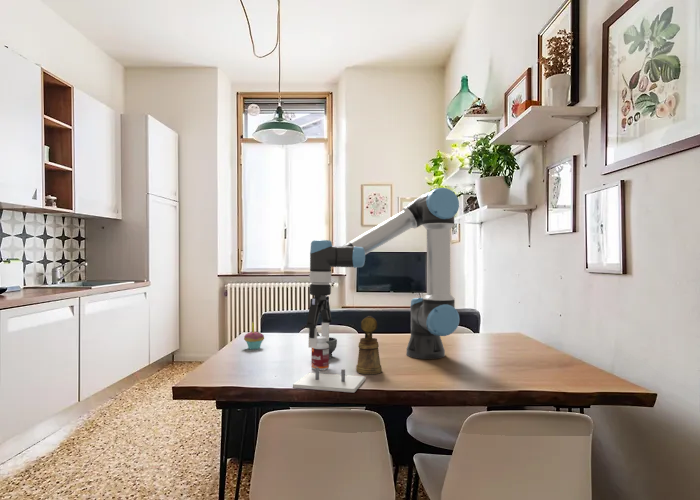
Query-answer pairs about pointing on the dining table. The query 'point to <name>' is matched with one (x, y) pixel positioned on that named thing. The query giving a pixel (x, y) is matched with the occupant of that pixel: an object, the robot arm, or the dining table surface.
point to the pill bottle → (320, 354)
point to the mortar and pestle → (331, 344)
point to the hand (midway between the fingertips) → (319, 344)
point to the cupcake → (254, 339)
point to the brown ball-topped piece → (368, 349)
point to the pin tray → (330, 382)
